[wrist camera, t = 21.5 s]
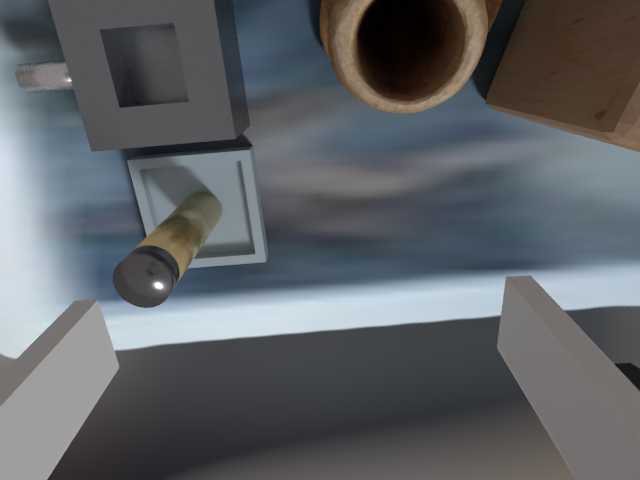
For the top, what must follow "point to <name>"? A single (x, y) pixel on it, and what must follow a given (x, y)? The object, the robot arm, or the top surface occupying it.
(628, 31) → the wooden block
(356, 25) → the stone cup
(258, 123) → the top surface
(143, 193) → the tray
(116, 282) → the cylindrical container
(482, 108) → the top surface
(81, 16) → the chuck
